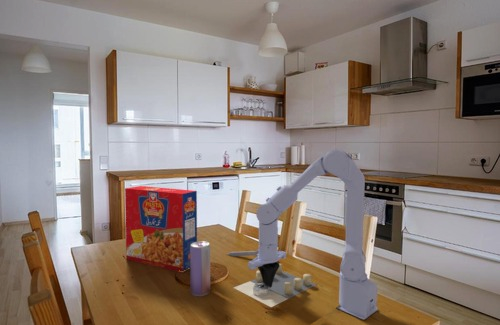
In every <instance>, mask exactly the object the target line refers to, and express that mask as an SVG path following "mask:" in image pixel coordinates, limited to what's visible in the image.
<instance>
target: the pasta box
mask: <svg viewBox="0 0 500 325" xmlns="http://www.w3.org/2000/svg"><path fill="white" fill-rule="evenodd" d="M197 193H198V192H197V190H192V189H191V190H189V189H179V188H167V187H158V186H157V187H155V186H147V185H146V186H145V185H138V186H137V185H136V186H132V187H125V188H124V199H125V201H124V203H125V206H124V207H125V250H126V251H125V252H126V254H125V255H126V257H125V259H126V260H127V261H132V262H135V263H140V264H144V265H149V266H153V267H157V268H162V269H166V270H169V271H174V272H177V271H179V270H180V271H184V270H186V269H188V268H190V247H191V244H192V243H193V242H198V217H197V216H198V214H197V213H198V211H197V210H198V206H197V203H198V199H197V198H198V197H197V196H198V195H197Z"/></svg>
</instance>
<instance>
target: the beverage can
mask: <svg viewBox="0 0 500 325" xmlns="http://www.w3.org/2000/svg"><path fill="white" fill-rule="evenodd" d="M189 271H190V273H189V274H190V276H189V278H190V280H189V282H190V285H189V286H190V293H191V295H192V296H195V297H204V296H207V295H209V293H210V291H211V246H210V242H208V241H204V240H200V241H198V240H197V242H193V243H192V244H191V247H190V269H189Z"/></svg>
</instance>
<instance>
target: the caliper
mask: <svg viewBox="0 0 500 325" xmlns="http://www.w3.org/2000/svg"><path fill="white" fill-rule="evenodd" d="M257 254H259V249H256V250H250V251H249V250H248V251H246V250H245V251H229V253H227V254H226V256H230V257H239V256H240V257H241V256H242V257H243V256H245V257H246V256H257Z"/></svg>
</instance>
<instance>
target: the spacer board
mask: <svg viewBox="0 0 500 325" xmlns="http://www.w3.org/2000/svg"><path fill="white" fill-rule="evenodd" d="M302 277H303V278H301V277H299V276H297V275H294V274H291V273H289V272H287V271H283V263H279V268H278V270H277V272H276V274H275V276H274V280H273V283H272V287H270V288H269V294H268V296H262V297H259V296H256V295H254V294H253V287H254V285H255V284H257V283H263V279H262V276H261V273H260V271H259V269H258V270H256V272H255V278H254V279H252V280H249V281H247V282H244V283H241V284H239V285H236V286H234V287H233V289H235V290H237V291H238V292H240V293H242V294H244V295H246V296H248V297H250V298H252V299H254V300H255V301H258V302H259V303H262V304H264V305H266V306H268V307H269V308H273V307H275V306H277V305H279V304H281V303H283V302H285V301H286V300H289V299H291V298H293V297H295V296H297V295H299V294H301V293H303V292H305V291H307V290H309V289H311V288H314V287H315V286H317V283H315V282H312V275H311V274H310V273H304V274H303V276H302Z"/></svg>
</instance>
